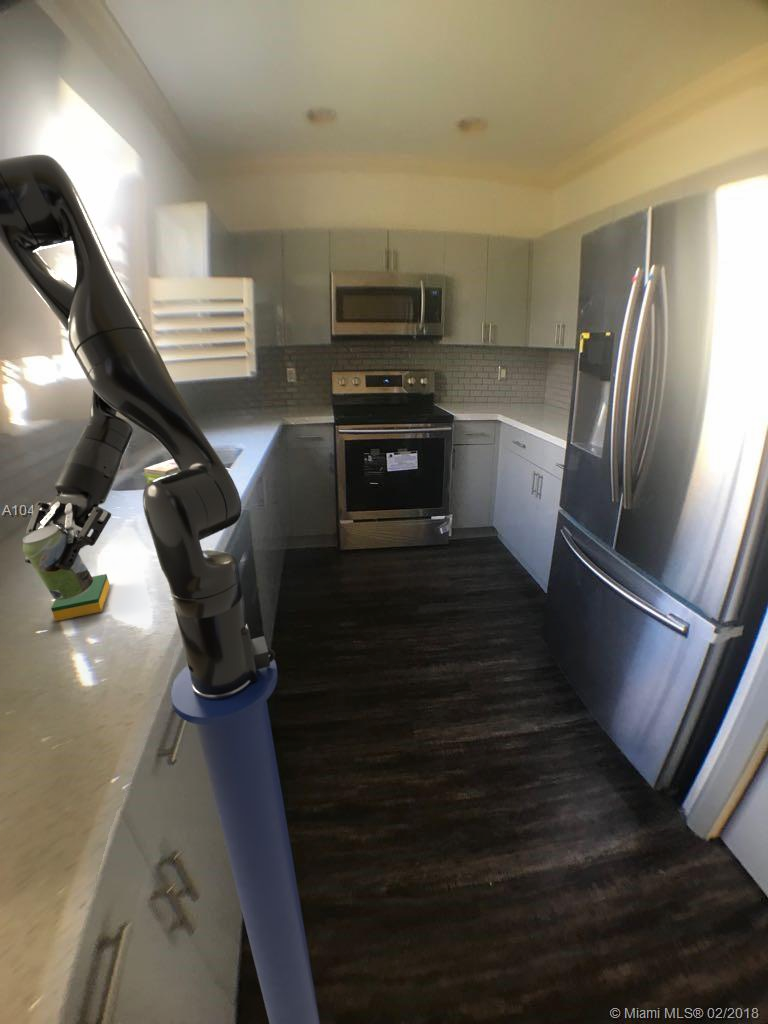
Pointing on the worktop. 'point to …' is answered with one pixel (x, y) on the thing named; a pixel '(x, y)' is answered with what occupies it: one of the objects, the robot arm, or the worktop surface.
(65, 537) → the beverage can
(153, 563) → the worktop surface
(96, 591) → the sponge
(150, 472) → the tea box
